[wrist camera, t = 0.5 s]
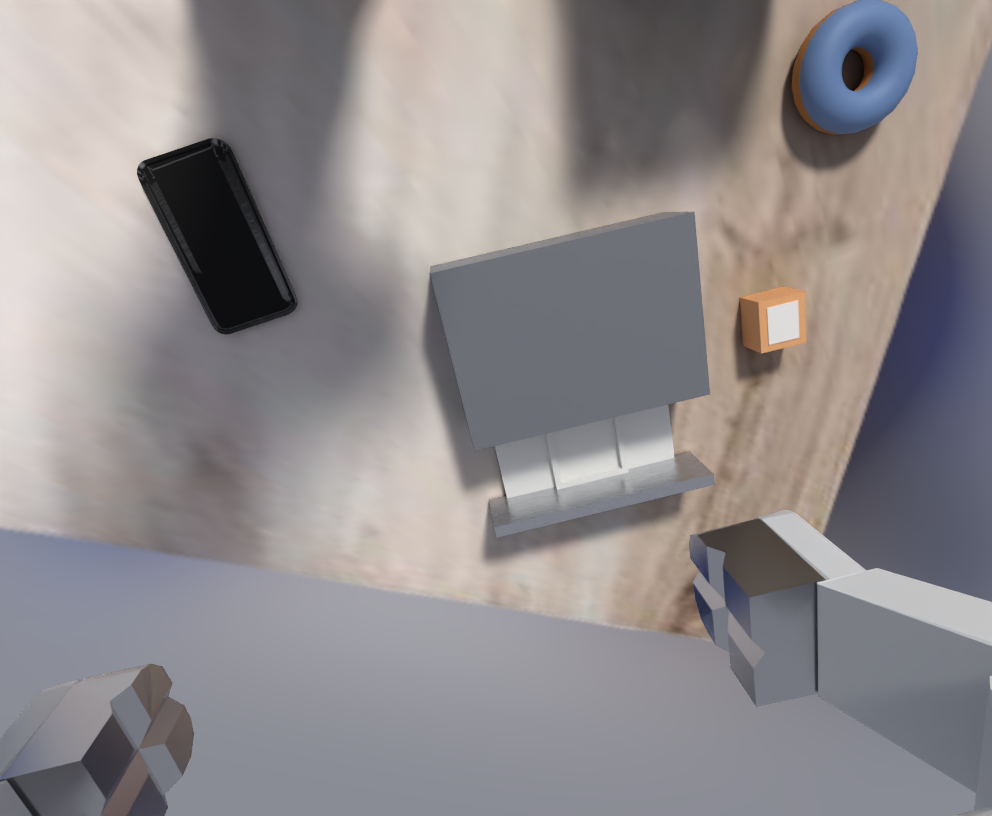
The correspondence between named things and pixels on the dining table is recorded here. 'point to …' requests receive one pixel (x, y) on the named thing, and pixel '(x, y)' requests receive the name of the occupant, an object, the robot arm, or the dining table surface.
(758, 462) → the dining table surface
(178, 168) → the phone
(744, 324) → the block
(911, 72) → the doughnut
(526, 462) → the tray
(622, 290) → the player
